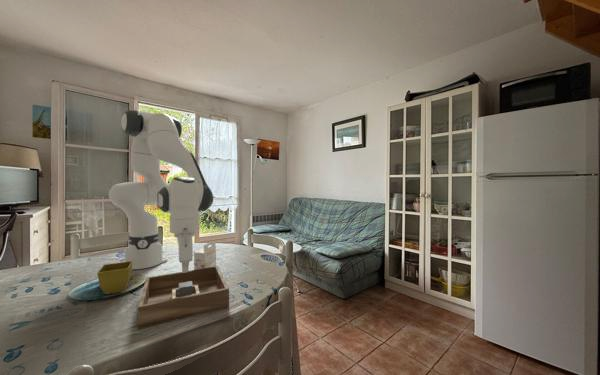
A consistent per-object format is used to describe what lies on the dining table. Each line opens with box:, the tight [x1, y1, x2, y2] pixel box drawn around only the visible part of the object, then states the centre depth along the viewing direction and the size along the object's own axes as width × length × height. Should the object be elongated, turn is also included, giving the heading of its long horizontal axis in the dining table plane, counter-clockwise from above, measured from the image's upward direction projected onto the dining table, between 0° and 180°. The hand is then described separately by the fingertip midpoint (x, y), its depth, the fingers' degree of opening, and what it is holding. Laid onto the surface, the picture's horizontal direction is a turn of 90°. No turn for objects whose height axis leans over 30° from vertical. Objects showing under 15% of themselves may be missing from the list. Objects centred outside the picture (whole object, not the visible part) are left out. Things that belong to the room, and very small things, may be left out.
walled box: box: [137, 265, 230, 330], centre depth 79 cm, size 22×24×6 cm
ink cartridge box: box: [193, 240, 217, 270], centre depth 98 cm, size 9×5×15 cm, turn 168°
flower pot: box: [97, 261, 133, 295], centre depth 85 cm, size 9×9×9 cm
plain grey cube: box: [179, 281, 193, 297], centre depth 79 cm, size 4×4×4 cm
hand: (184, 266), depth 79 cm, fingers open, 8 cm apart
